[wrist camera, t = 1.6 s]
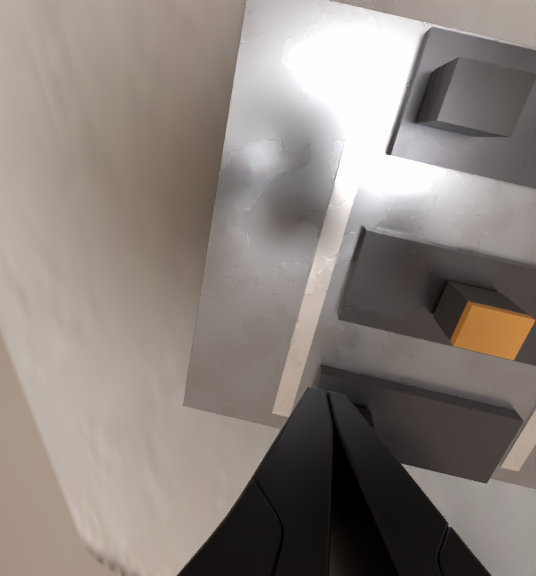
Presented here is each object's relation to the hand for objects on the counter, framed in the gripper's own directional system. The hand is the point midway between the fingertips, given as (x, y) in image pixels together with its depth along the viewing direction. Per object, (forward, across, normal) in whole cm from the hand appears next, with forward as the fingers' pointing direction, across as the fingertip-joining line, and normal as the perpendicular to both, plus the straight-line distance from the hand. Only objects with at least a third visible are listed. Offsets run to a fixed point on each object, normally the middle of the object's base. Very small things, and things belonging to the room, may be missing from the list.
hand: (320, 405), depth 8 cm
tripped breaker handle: (+9, -7, 0) cm, 12 cm away
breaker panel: (+12, -7, 0) cm, 14 cm away
